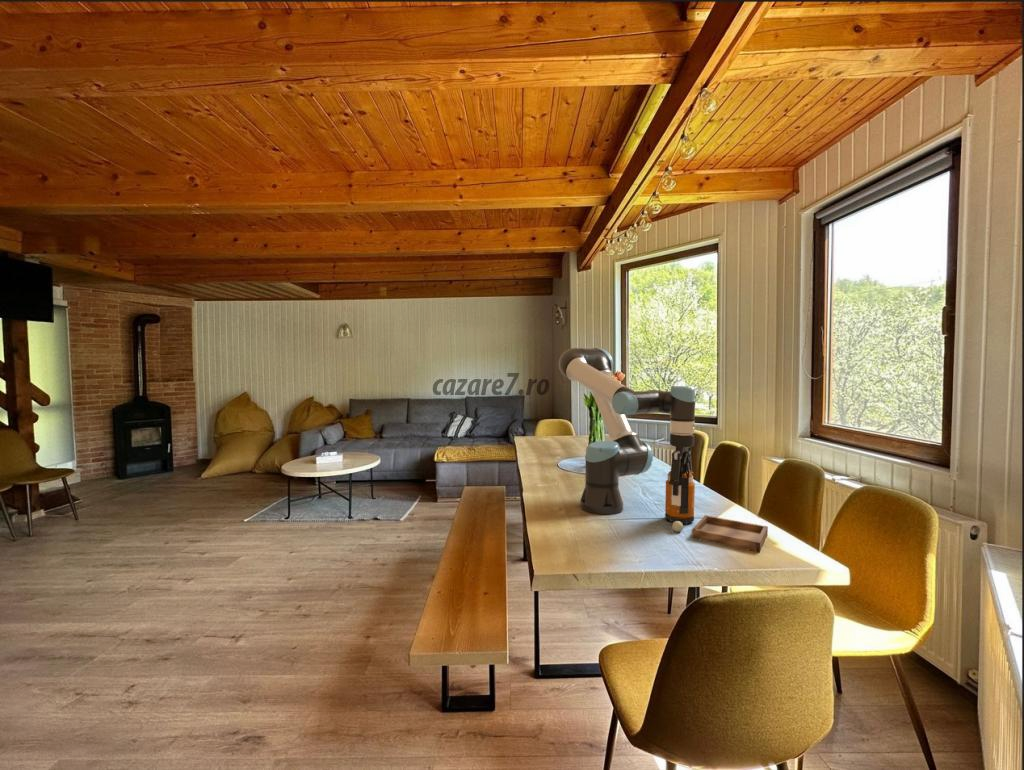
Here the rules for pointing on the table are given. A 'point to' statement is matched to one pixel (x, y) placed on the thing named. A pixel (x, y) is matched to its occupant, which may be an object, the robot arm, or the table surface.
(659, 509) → the table surface
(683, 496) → the canister
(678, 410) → the robot arm
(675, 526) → the ball
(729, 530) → the tray
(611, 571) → the table surface
